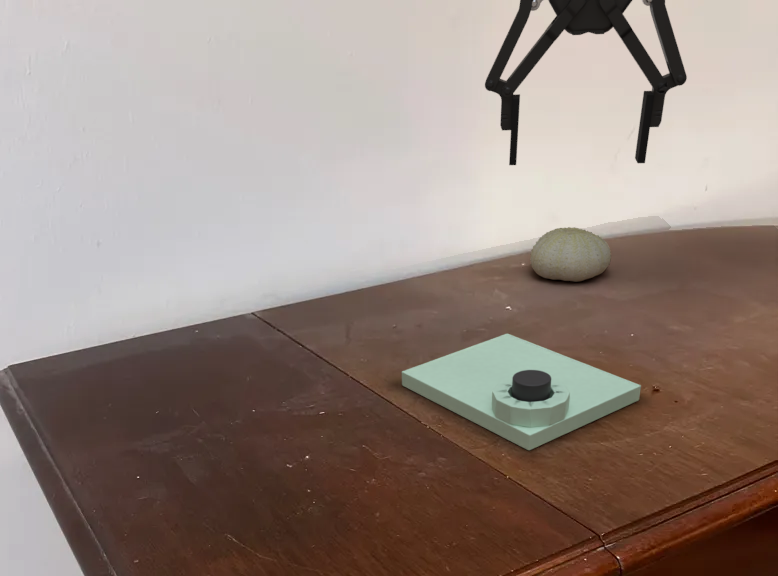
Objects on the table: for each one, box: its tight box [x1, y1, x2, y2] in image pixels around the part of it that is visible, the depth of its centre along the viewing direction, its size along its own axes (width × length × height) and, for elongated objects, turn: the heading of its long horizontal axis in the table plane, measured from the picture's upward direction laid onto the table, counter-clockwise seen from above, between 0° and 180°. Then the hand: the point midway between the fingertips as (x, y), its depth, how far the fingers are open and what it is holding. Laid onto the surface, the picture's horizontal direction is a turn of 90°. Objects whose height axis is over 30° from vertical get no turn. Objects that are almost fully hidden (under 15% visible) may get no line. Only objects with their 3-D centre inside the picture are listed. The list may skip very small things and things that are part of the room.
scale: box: [401, 333, 642, 451], centre depth 70 cm, size 16×13×3 cm
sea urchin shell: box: [529, 226, 612, 283], centre depth 95 cm, size 9×8×8 cm
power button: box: [512, 370, 551, 402], centre depth 64 cm, size 3×3×2 cm
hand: (575, 162), depth 89 cm, fingers open, 13 cm apart
